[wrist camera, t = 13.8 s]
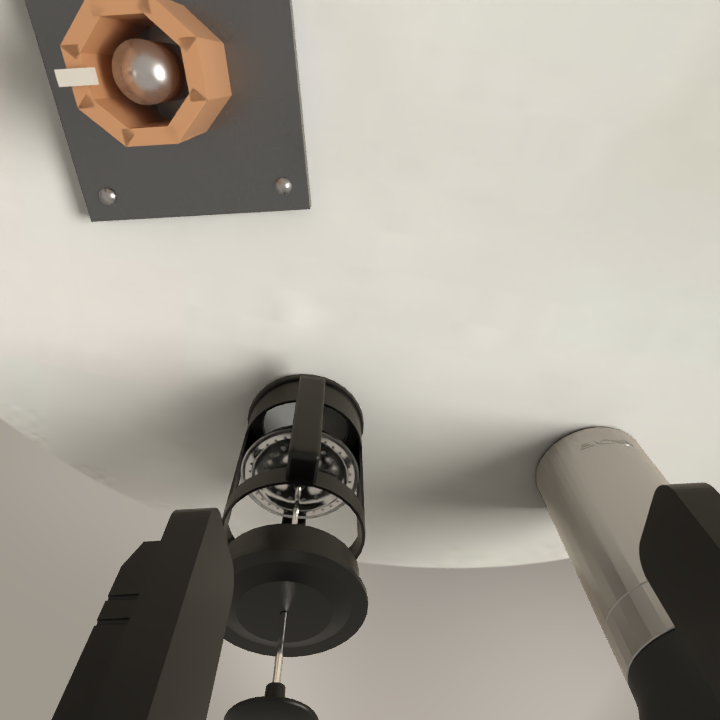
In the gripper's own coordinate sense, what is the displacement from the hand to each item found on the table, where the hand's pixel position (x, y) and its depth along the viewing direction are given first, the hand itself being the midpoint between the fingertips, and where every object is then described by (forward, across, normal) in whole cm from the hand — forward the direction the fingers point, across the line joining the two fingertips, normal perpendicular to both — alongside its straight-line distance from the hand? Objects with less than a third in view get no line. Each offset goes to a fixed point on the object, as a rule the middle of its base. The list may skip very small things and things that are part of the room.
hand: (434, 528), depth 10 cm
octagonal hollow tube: (+27, +11, -8) cm, 30 cm away
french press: (+28, +6, +17) cm, 34 cm away
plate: (+28, +11, -8) cm, 31 cm away
